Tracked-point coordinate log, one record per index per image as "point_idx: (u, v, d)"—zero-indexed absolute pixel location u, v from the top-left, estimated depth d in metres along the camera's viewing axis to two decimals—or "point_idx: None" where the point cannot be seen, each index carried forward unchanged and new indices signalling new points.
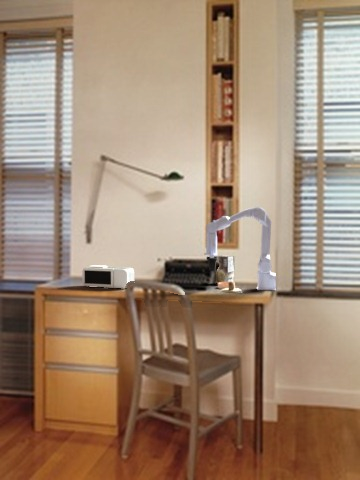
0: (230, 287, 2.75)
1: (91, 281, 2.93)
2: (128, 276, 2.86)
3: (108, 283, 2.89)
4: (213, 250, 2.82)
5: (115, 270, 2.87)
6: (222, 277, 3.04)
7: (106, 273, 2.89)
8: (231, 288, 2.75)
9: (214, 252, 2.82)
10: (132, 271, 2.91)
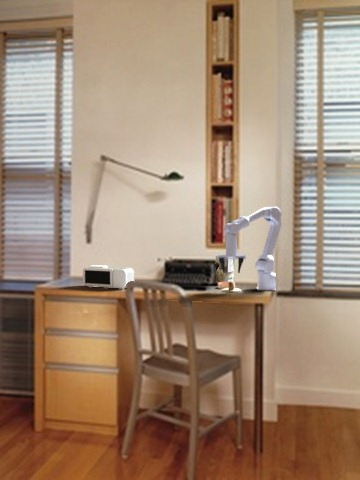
0: (230, 287, 2.75)
1: (92, 281, 2.93)
2: (127, 276, 2.86)
3: (107, 283, 2.89)
4: (226, 251, 2.75)
5: (114, 270, 2.87)
6: (222, 277, 3.04)
7: (106, 273, 2.89)
8: (231, 288, 2.75)
9: (226, 254, 2.74)
10: (131, 271, 2.90)
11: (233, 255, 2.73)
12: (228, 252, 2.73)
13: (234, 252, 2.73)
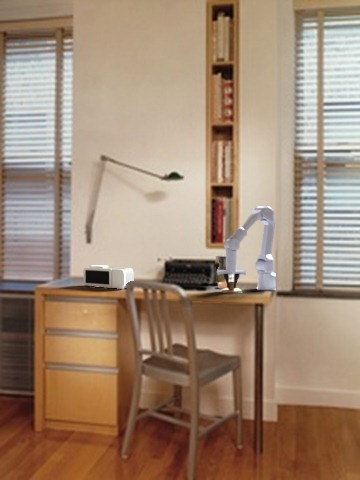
0: (230, 287, 2.75)
1: (92, 281, 2.94)
2: (126, 276, 2.85)
3: (107, 283, 2.89)
4: (226, 267, 2.75)
5: (113, 270, 2.86)
6: (222, 277, 3.04)
7: (105, 273, 2.89)
8: (231, 288, 2.75)
9: (226, 269, 2.74)
10: (131, 271, 2.89)
11: (233, 271, 2.73)
12: (228, 268, 2.74)
13: (234, 268, 2.73)
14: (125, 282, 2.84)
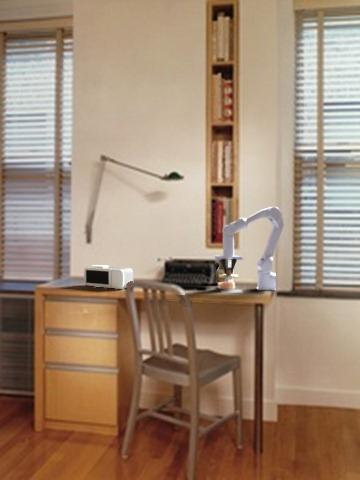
0: (227, 272, 2.81)
1: (92, 281, 2.94)
2: (125, 276, 2.84)
3: (106, 283, 2.89)
4: (223, 253, 2.81)
5: (112, 270, 2.86)
6: (222, 277, 3.04)
7: (105, 273, 2.89)
8: (228, 273, 2.81)
9: (224, 255, 2.81)
10: (130, 272, 2.88)
11: (230, 256, 2.79)
12: (225, 253, 2.80)
13: (231, 253, 2.80)
14: (124, 282, 2.84)
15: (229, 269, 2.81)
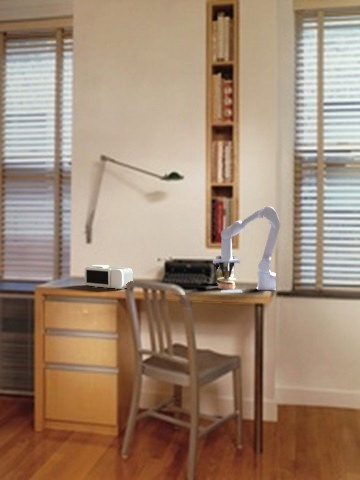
0: (225, 276, 2.87)
1: (92, 281, 2.95)
2: (124, 276, 2.84)
3: (106, 283, 2.89)
4: (221, 256, 2.87)
5: (112, 270, 2.86)
6: (222, 277, 3.04)
7: (105, 273, 2.89)
8: (226, 277, 2.86)
9: (222, 258, 2.86)
10: (130, 272, 2.88)
11: (228, 260, 2.85)
12: (223, 257, 2.85)
13: (229, 257, 2.85)
14: (123, 282, 2.83)
15: (227, 272, 2.87)
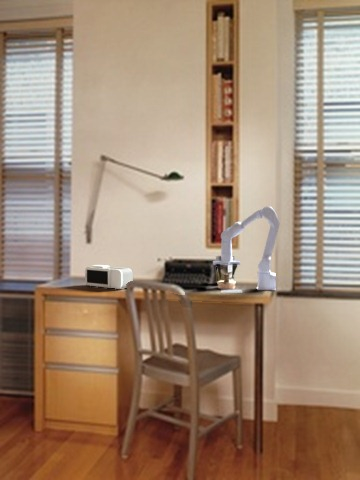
0: (225, 279, 2.87)
1: (92, 281, 2.95)
2: (123, 276, 2.84)
3: (106, 283, 2.89)
4: (221, 258, 2.87)
5: (111, 270, 2.86)
6: (222, 277, 3.04)
7: (104, 273, 2.90)
8: (226, 280, 2.87)
9: (222, 260, 2.86)
10: (129, 272, 2.87)
11: (228, 261, 2.85)
12: (223, 258, 2.85)
13: (229, 258, 2.85)
14: (122, 282, 2.83)
15: (227, 276, 2.86)
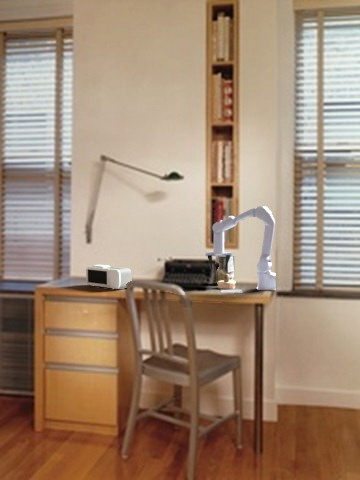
0: (225, 279, 2.87)
1: (93, 281, 2.96)
2: (122, 277, 2.83)
3: (105, 283, 2.89)
4: None
5: (110, 270, 2.86)
6: (222, 277, 3.04)
7: (104, 273, 2.90)
8: (226, 280, 2.87)
9: (214, 251, 2.91)
10: (128, 272, 2.86)
11: (220, 252, 2.90)
12: (215, 250, 2.90)
13: (221, 250, 2.90)
14: (120, 282, 2.82)
15: (227, 276, 2.86)
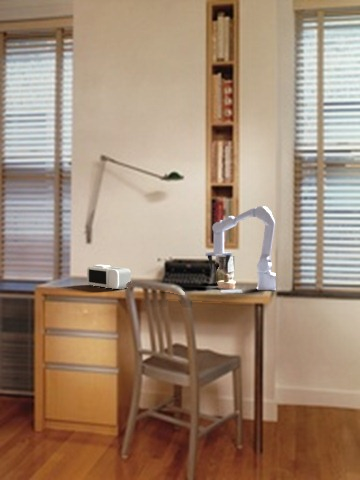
0: (225, 279, 2.87)
1: (93, 281, 2.96)
2: (120, 277, 2.82)
3: (105, 283, 2.89)
4: None
5: (109, 270, 2.86)
6: (222, 277, 3.04)
7: (103, 273, 2.90)
8: (226, 280, 2.87)
9: (214, 251, 2.91)
10: (127, 272, 2.86)
11: (220, 252, 2.90)
12: (215, 250, 2.90)
13: (221, 250, 2.90)
14: (119, 283, 2.82)
15: (227, 276, 2.86)
